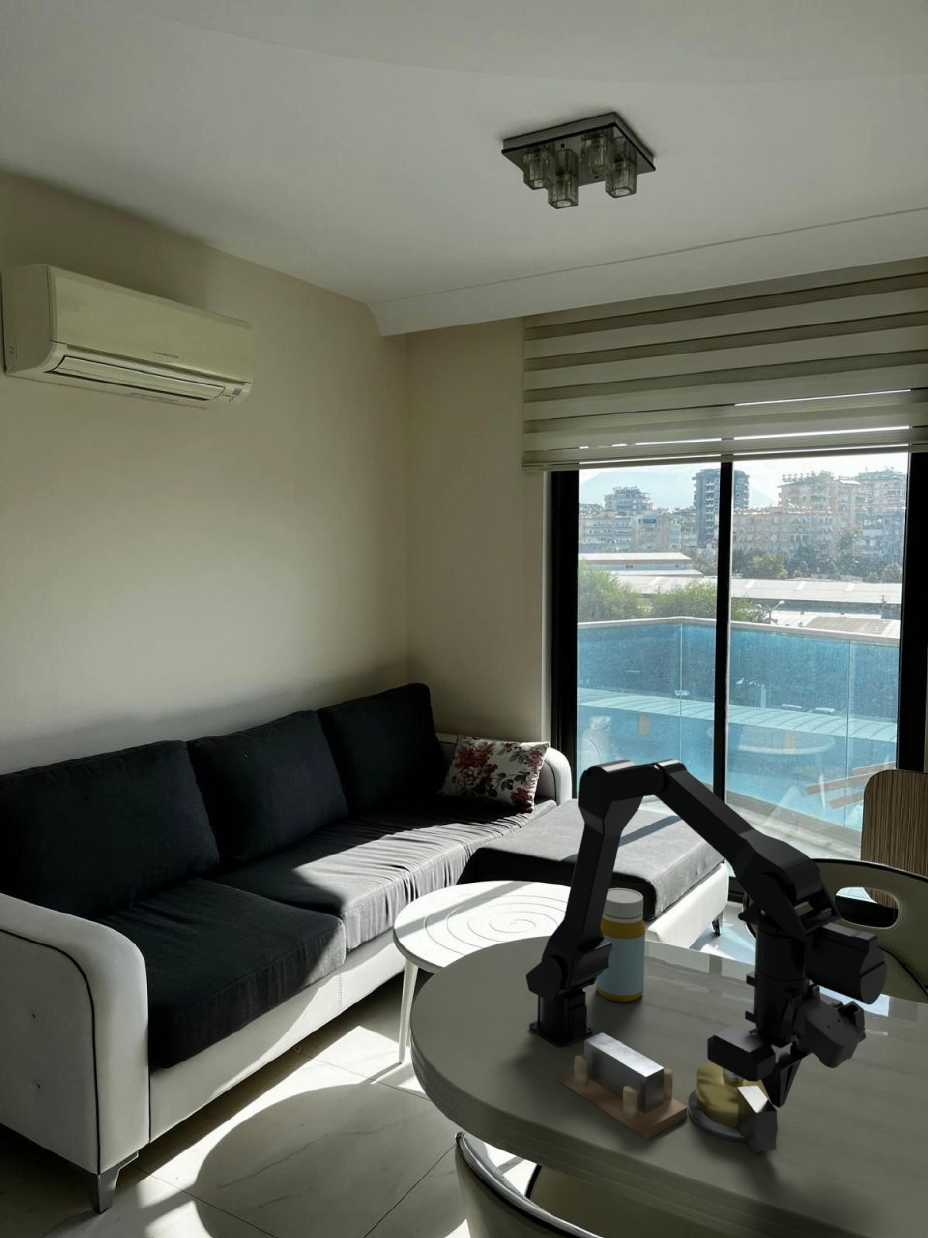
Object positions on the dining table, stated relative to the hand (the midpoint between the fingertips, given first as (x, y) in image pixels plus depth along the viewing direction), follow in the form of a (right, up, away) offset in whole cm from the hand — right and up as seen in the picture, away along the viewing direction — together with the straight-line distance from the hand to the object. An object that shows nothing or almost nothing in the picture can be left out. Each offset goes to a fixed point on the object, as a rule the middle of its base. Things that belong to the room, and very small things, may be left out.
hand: (777, 1105), depth 103 cm
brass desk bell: (-3, -5, +6) cm, 8 cm away
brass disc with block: (-3, -3, +4) cm, 6 cm away
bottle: (-11, -2, +37) cm, 38 cm away
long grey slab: (-16, -3, +9) cm, 18 cm away
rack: (-16, -4, +9) cm, 19 cm away
